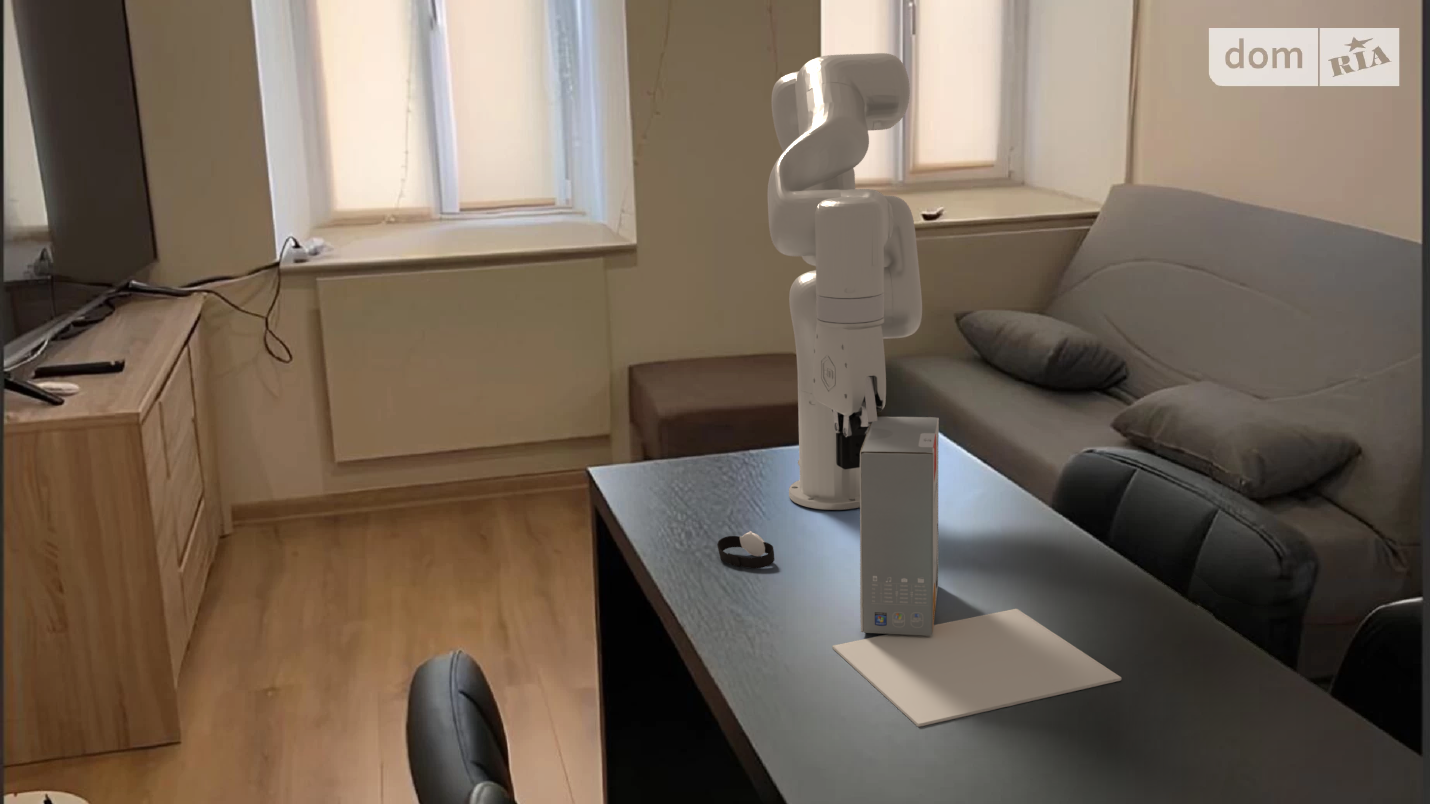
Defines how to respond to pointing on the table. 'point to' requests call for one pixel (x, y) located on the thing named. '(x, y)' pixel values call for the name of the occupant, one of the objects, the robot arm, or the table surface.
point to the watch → (752, 546)
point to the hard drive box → (899, 526)
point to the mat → (973, 666)
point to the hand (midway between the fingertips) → (851, 465)
